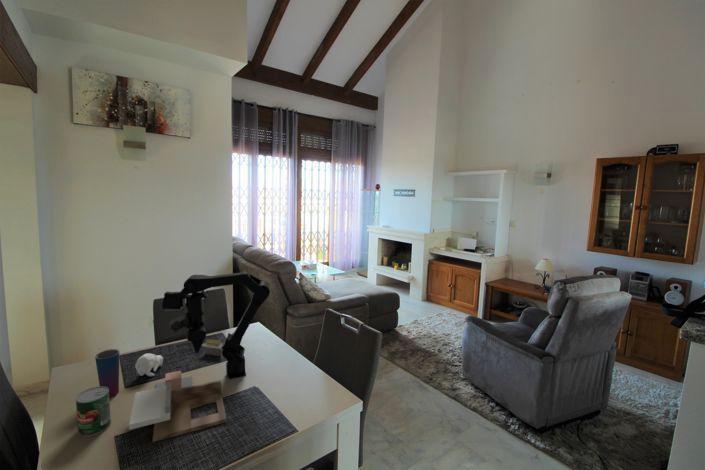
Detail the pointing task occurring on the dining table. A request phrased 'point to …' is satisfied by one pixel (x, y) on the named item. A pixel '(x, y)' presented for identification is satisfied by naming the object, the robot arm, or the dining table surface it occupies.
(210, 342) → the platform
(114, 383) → the cup
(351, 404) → the dining table surface
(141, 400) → the cover
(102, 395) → the canned tomato
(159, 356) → the white animal figurine
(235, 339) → the robot arm
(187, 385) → the mat
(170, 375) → the block
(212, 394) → the brown open box
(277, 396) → the dining table surface
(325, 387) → the dining table surface
